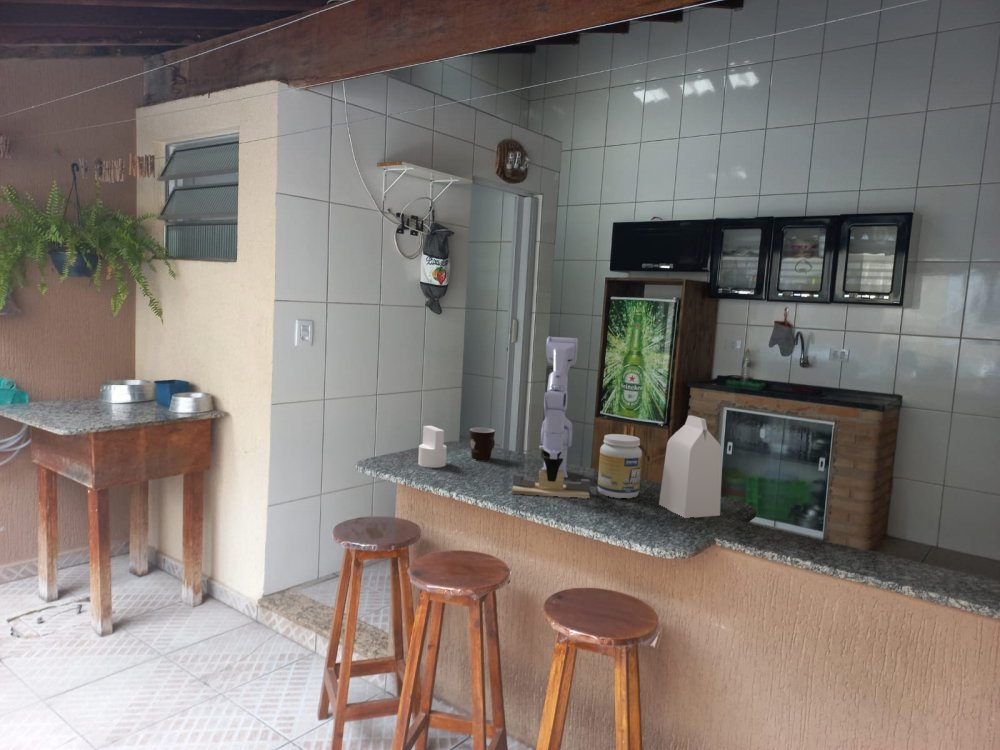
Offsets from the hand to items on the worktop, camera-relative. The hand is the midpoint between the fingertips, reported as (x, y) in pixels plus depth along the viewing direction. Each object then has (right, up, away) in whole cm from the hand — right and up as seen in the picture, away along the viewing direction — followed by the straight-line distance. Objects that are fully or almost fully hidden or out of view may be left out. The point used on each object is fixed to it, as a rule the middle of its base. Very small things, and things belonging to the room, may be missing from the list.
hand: (551, 477), depth 203 cm
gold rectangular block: (0, -3, 0) cm, 3 cm away
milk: (+37, -8, -11) cm, 40 cm away
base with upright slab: (-37, 0, +26) cm, 45 cm away
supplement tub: (+20, -5, +2) cm, 21 cm away
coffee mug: (-21, +1, +35) cm, 41 cm away
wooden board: (0, -4, 0) cm, 4 cm away
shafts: (0, -3, +1) cm, 3 cm away
